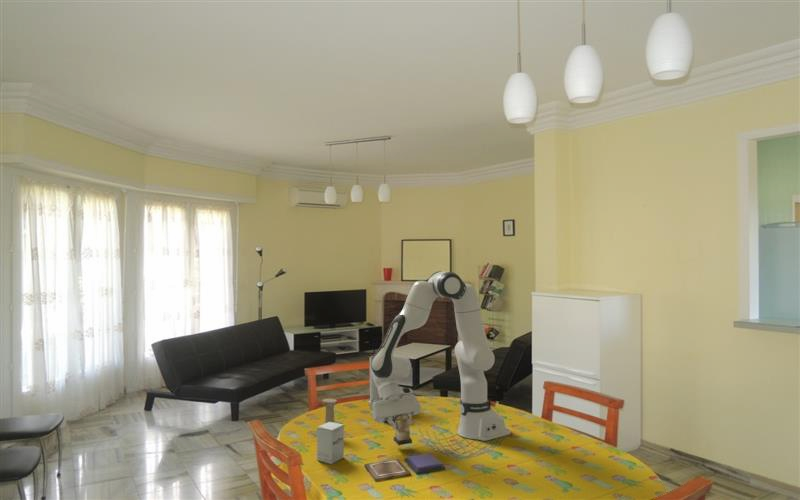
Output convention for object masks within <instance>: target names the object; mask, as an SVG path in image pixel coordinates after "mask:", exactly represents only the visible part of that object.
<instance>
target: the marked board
mask: <svg viewBox="0 0 800 500" xmlns="http://www.w3.org/2000/svg"><path fill="white" fill-rule="evenodd" d="M364 468H365V469H366V471H367V472H368V473H369V475H370V476H371V478H372V479H373V481H374V482H380V481H386V480H391V479H397V478H403V477H408V476H412V473H411V472H412V471H410V470H409V469H408V468H407V466H405V465H404V463H403V462H402V461H401V460H400V459H399V458H394V459H388V460H382V461H381V460H380V461H376V462H370V463H364Z"/></svg>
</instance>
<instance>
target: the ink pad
mask: <svg viewBox="0 0 800 500" xmlns="http://www.w3.org/2000/svg"><path fill="white" fill-rule="evenodd" d="M403 460H404V463H405V464H406V465H407V466H408V467H409V468H410V469H411V471H413V472H414V473H415V474H416V475H420V474H427V473H432V472H437V471H445V470H446V465H444V464H443V463H442V462H441V461H440V460H438V459H437V458H436V456H434V455H433V454H432V453H431V452H429V453H428V452H427V453H421V454H415V455H409V456H407V458H403Z"/></svg>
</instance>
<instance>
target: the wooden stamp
mask: <svg viewBox="0 0 800 500" xmlns="http://www.w3.org/2000/svg"><path fill="white" fill-rule="evenodd" d="M394 423H397V425H398V429H394V432H395V433H394V434H395V436H393V441H394V442H395V443H396V444H397V446H402V445H408V444H412V443H413V439H412V438H411V434H410V433H411V432H410V430H411V428H410V427H411V426H410V423H409V420H408V419H407V416H406V415H398V418H396V419H394Z"/></svg>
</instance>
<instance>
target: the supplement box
mask: <svg viewBox="0 0 800 500" xmlns="http://www.w3.org/2000/svg"><path fill="white" fill-rule="evenodd" d="M344 429H345V428H344V424H343V423H339V422H338V423H337V422H335V423H333V422H328V423H325V422H324V424H321V425H319V426H317V427H316V460H317V461H319V462H321V463H326V464H329V465H333V464H334V463H336V462H339V460H341V459H344V458H345V454H344V453H345V451H344V450H345V449H344V448H345V447H344V446H345V445H344V444H345V443H344V441H345V440H344V439H345V434H344V432H345V430H344Z"/></svg>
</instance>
